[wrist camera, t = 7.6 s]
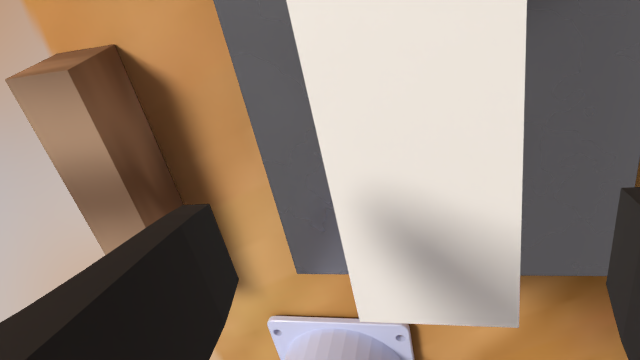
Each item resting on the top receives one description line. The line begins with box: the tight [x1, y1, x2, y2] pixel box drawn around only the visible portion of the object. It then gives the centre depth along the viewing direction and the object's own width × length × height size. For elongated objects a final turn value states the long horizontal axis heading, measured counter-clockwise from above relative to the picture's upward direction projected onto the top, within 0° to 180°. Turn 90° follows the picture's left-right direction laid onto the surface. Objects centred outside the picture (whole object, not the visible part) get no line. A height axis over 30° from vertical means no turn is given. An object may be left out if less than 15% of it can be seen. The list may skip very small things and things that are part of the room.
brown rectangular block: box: [5, 45, 183, 255], centre depth 22 cm, size 12×3×3 cm, turn 12°
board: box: [286, 0, 527, 328], centre depth 13 cm, size 14×5×2 cm, turn 12°
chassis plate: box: [213, 0, 640, 276], centre depth 15 cm, size 20×14×4 cm
